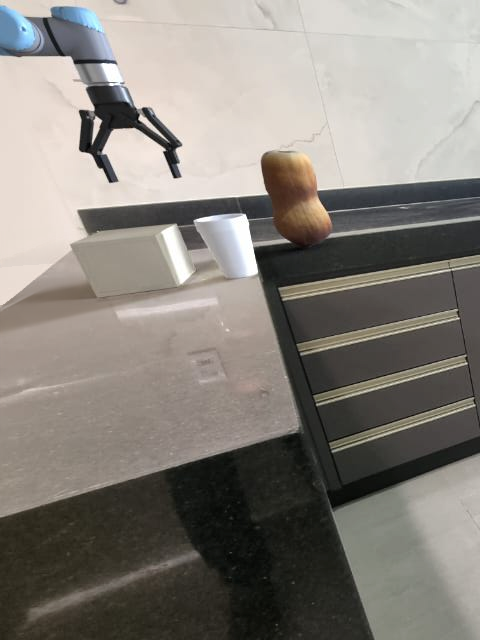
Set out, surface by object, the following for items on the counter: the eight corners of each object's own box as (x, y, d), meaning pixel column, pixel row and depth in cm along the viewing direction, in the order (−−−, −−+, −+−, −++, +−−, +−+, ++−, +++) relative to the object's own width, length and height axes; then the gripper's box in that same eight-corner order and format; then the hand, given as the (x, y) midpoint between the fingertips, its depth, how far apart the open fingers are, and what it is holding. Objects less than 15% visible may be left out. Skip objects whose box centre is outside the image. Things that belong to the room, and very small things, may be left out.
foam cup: (209, 282, 117) (185, 223, 111) (226, 271, 125) (204, 216, 119) (258, 277, 119) (236, 219, 113) (271, 267, 127) (251, 212, 122)
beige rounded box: (124, 280, 122) (100, 231, 117) (196, 270, 127) (176, 223, 122) (96, 298, 110) (69, 244, 105) (178, 287, 115) (155, 235, 110)
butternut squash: (344, 245, 146) (316, 148, 135) (290, 255, 138) (256, 153, 127) (327, 238, 155) (299, 147, 144) (275, 248, 146) (242, 151, 135)
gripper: (175, 84, 130) (209, 174, 140) (51, 88, 124) (95, 182, 133) (160, 83, 124) (197, 177, 133) (28, 87, 118) (77, 186, 127)
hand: (146, 180), depth 133 cm, fingers open, 13 cm apart
